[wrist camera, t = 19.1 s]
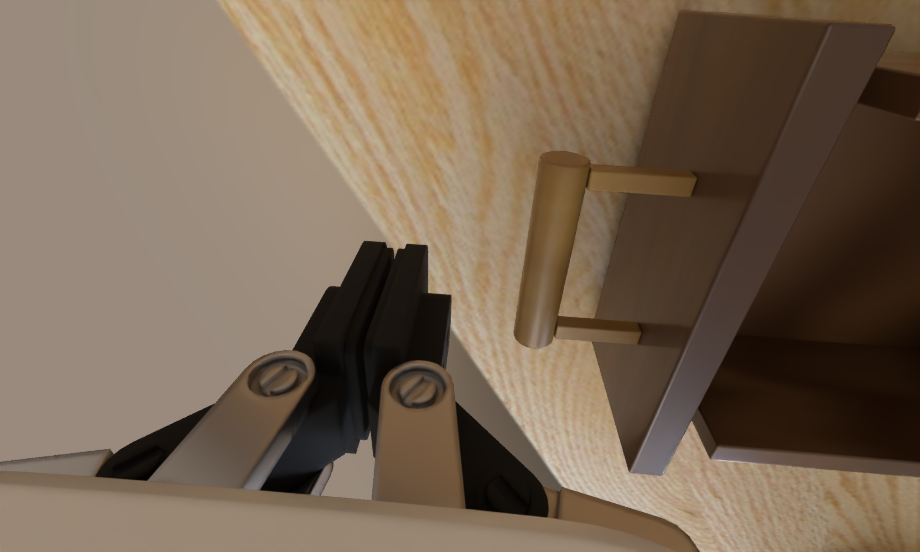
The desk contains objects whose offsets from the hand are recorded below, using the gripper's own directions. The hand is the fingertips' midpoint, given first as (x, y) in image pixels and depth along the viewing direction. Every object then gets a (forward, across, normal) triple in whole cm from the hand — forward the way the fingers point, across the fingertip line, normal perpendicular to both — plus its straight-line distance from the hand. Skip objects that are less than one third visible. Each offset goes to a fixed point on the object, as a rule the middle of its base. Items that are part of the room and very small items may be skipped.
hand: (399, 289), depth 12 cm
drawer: (+7, -13, 0) cm, 15 cm away
